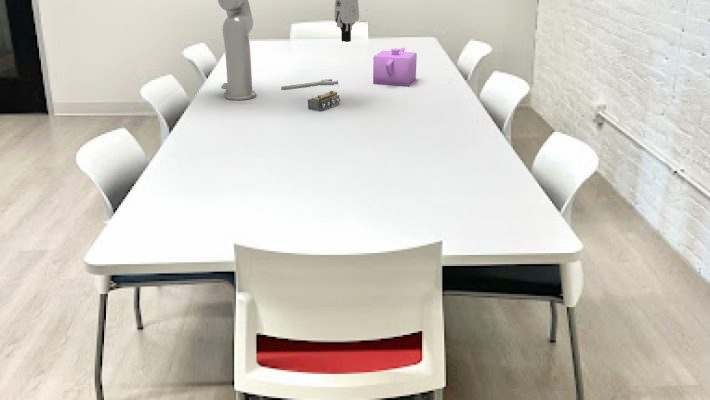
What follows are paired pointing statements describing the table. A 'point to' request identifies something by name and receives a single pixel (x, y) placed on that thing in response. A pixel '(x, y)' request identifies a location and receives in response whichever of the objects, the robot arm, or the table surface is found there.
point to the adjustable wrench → (310, 84)
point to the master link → (325, 96)
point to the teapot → (394, 68)
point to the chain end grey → (334, 100)
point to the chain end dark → (318, 104)
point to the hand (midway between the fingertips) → (346, 41)
